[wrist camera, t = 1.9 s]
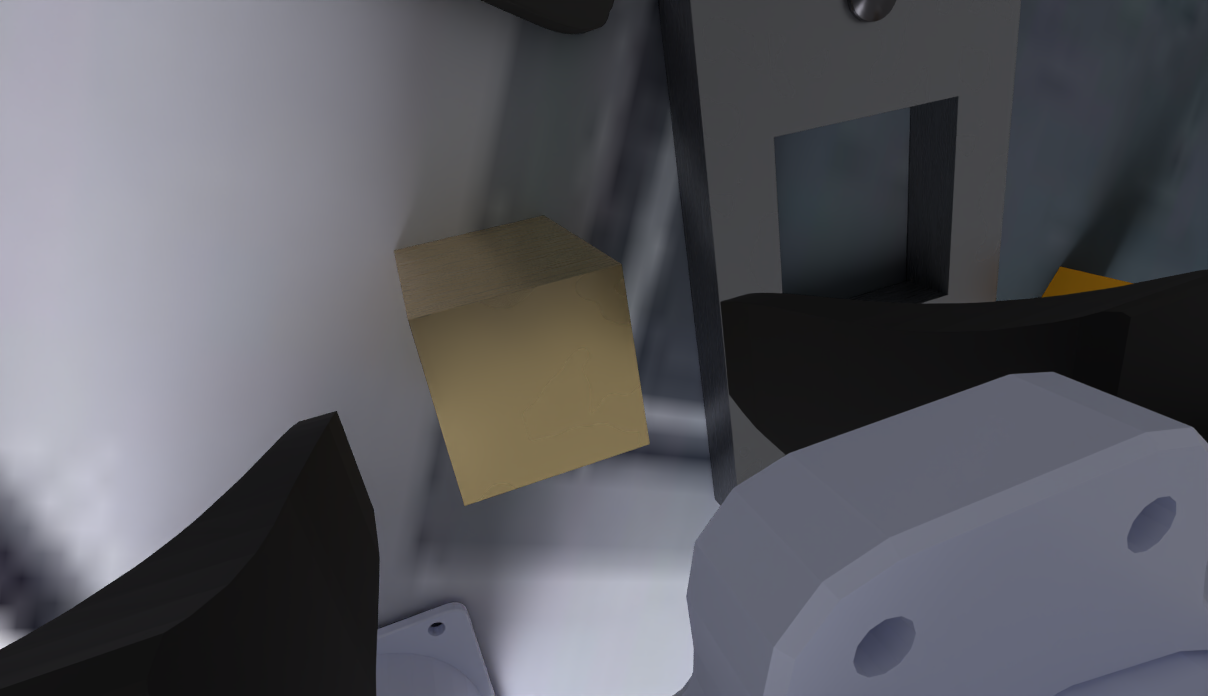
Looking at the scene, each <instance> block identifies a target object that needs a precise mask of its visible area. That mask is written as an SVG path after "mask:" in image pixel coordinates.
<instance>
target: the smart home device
mask: <svg viewBox="0 0 1208 696" xmlns="http://www.w3.org/2000/svg"><path fill="white" fill-rule="evenodd" d="M481 1H484V2H486V3H488V4H491V5H493V6H495V7H497V8H500V9H502V10H504V11H507V12H509V13H511V14H514V15H516V16H518V17H520V18H523V19H525V20H527V21H530V22H532V23H534V24H537V25H539V26H541V27H544V28H546V29H549V30H553V31H556V32H561V33H567V34H580V33H585V32H588V31H591V30H594V29H597V28H599V27H602V26H603V25H604V24H605V23H606V21H607V19H608V16H609V12H610V10H611V8H612V6H613V3H614V0H481Z"/></svg>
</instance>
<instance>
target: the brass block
mask: <svg viewBox="0 0 1208 696" xmlns="http://www.w3.org/2000/svg"><path fill="white" fill-rule="evenodd" d="M394 253H395V258H396V263H397V268H398V273H399V278H400V283H401V288H402V293H403V297H404V302H405V307H406V312H407V317H408V321H409V325H410V328H411V331H412V334H413V338H414V341H415V344H416V348H417V351H418V354H419V358H420V361H421V364H422V367H423V371H424V374H425V377H426V381H427V384H428V387H429V390H430V394H431V397H432V400H433V404H434V407H435V410H436V414H437V417H438V420H439V423H440V427H441V430H442V433H443V437H444V440H445V443H446V446H447V450H448V453H449V456H450V460H451V463H452V466H453V470H454V473H455V476H456V479H457V483H458V486H459V489H460V493H461V496H462V499H463V503H464V506H466V505H469V504H472V503H475V502H478V501H481V500H484V499H487V498H490V497H493V496H496V495H499V494H502V493H505V492H508V491H511V490H514V489H517V488H520V487H523V486H526V485H529V484H532V483H535V482H538V481H541V480H544V479H547V478H550V477H553V476H556V475H559V474H562V473H565V472H568V471H571V470H574V469H577V468H580V467H583V466H586V465H589V464H592V463H595V462H598V461H601V460H604V459H607V458H609V457H612V456H615V455H618V454H621V453H624V452H627V451H630V450H633V449H636V448H639V447H642V446H645V445H648V444H650V443H649V436H648V430H647V424H646V417H645V411H644V404H643V398H642V391H641V385H640V379H639V372H638V366H637V359H636V353H635V347H634V340H633V334H632V327H631V321H630V315H629V308H628V302H627V295H626V289H625V283H624V276H623V270H622V264H620V263H619V262H617V261H615V260H614V259H612V258H611V257H609V256H608V255H606V254H604V253H603V252H601V251H600V250H598V249H596V248H595V247H593V246H592V245H590V244H588V243H587V242H585V241H584V240H582V239H580V238H579V237H577V236H576V235H574V234H573V233H571V232H569V231H568V230H566V229H565V228H563V227H561V226H560V225H558V224H557V223H555V222H553V221H552V220H550V219H549V218H547V217H545V216H540V217H535V218H531V219H527V220H523V221H518V222H514V223H510V224H505V225H501V226H497V227H493V228H488V229H484V230H480V231H475V232H471V233H467V234H463V235H458V236H454V237H450V238H445V239H441V240H437V241H433V242H428V243H424V244H420V245H415V246H411V247H407V248H403V249H398V250H394Z"/></svg>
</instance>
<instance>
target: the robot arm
mask: <svg viewBox="0 0 1208 696" xmlns="http://www.w3.org/2000/svg"><path fill="white" fill-rule="evenodd" d="M720 305H721V316H722V326H723V337H724V348H725V358H726V369H727V379H728V390H729V395H730V397H731V398H732V399H733V400H734V402H735V403H736V404H737V406H738V407H739V408H740V409H741V411H742V412H743V413H744V414H745V416H746V417H747V418H748V419H749V420H750V422H751V423H752V424H753V425H754V426H755V427H756V429H758V430H759V431H760V432H761V433H762V434H763V435H764V436H765V437H766V438H767V439H768V440H769V441H771V442H772V443H773V444H774V445H775V446H776V447H777V448H778V449H779V450H781V451H782V452H783V453H784V454H785V456H784V457H782V458H780V459H779V460H777V461H776V462H774V463H772V464H771V465H769V466H768V467H766V468H765V469H763V470H761V471H760V472H758V473H757V474H755V475H753V476H752V477H750V478H749V479H747V480H745V481H744V482H742V483H741V484H739V485H737V486H736V487H734V488H733V489H732V490H731V492H730V493H729V495H728V496H727V498H726V499H725V500H724V502H723V503H722V505H721V506H720V507H719V509H718V510H717V512H716V513H715V514H714V516H713V517H712V519H711V520H710V521H709V523H708V524H707V526H706V527H705V529H704V530H703V531H702V533H701V534H700V536H699V537H698V538H697V540H696V541H695V545H694V552H693V558H692V564H691V571H690V577H689V583H688V590H687V596H686V597H687V604H688V611H689V618H690V625H691V632H692V638H693V645H694V665H693V674H692V676H691V677H690V679H689V680H688V682H687V683H686V685H685V686H684V687H683V688H682V689H681V690H680V691H678V692H677V693H676V694H674V695H673V696H1208V270H1200V271H1195V272H1190V273H1184V274H1179V275H1174V276H1169V277H1164V278H1159V279H1154V280H1149V281H1144V282H1139V283H1134V284H1129V285H1124V286H1119V287H1113V288H1107V289H1101V290H1094V291H1087V292H1080V293H1073V294H1066V295H1059V296H1050V297H1041V298H1032V299H1020V300H1007V301H995V302H978V303H927V304H923V303H894V302H877V301H862V300H850V299H839V298H828V297H818V296H808V295H797V294H784V293H750V294H745V295H742V296H738V297H735V298H731V299H728V300H724V301H721V302H720ZM379 558H380V557H379V548H378V539H377V531H376V523H375V516H374V509H373V506H372V504H371V501H370V498H369V496H368V493H367V490H366V488H365V485H364V482H363V480H362V477H361V474H360V472H359V469H358V466H357V464H356V461H355V458H354V456H353V453H352V450H351V448H350V445H349V442H348V440H347V437H346V434H345V432H344V429H343V426H342V424H341V421H340V418H339V416H338V413H337V411H335V412H331V413H328V414H324V415H321V416H317V417H314V418H310V419H307V420H303V421H300V422H298V423H297V424H295V425H294V426H293V427H291V428H290V429H289V430H288V431H287V432H286V433H285V434H284V435H283V436H282V437H281V438H280V439H279V440H278V441H277V442H276V443H275V444H274V445H273V446H272V447H271V448H270V449H269V450H268V451H267V452H266V453H265V454H264V455H263V456H262V457H261V458H260V459H259V460H258V461H257V462H256V463H255V465H254V466H253V467H252V468H251V469H250V470H249V471H248V472H247V473H246V474H245V475H244V476H243V477H242V478H241V479H240V480H239V481H238V482H237V483H235V484H234V485H233V486H232V487H231V488H230V489H229V490H228V491H227V492H226V493H225V494H224V495H223V496H221V497H220V498H219V499H218V500H217V501H216V502H215V503H214V504H213V505H212V506H211V507H210V508H208V509H207V510H206V511H205V512H204V513H203V514H202V515H201V516H200V517H199V518H197V519H196V520H195V521H194V522H193V523H192V524H190V525H189V526H188V527H187V528H186V529H184V530H183V531H182V532H181V533H179V534H178V535H177V536H176V537H174V538H173V539H172V540H171V541H169V542H168V543H167V544H165V545H164V546H163V547H161V548H160V549H159V550H157V551H156V552H155V553H153V554H152V555H151V556H149V557H148V558H147V559H145V560H144V561H143V562H141V563H140V564H138V565H137V566H136V567H134V568H133V569H131V570H130V571H128V572H127V573H125V574H124V575H122V576H121V577H119V578H118V579H116V580H115V581H113V582H111V583H110V584H108V585H107V586H105V587H104V588H102V589H101V590H99V591H98V592H96V593H95V594H93V595H92V596H90V597H89V598H87V599H86V600H84V601H83V602H81V603H79V604H78V605H76V606H75V607H73V608H72V609H70V610H68V611H67V612H65V613H64V614H62V615H60V616H59V617H57V618H55V619H53V620H52V621H50V622H48V623H47V624H45V625H43V626H41V627H40V628H38V629H36V630H34V631H33V632H31V633H29V634H28V635H26V636H24V637H22V638H20V639H19V640H17V641H15V642H13V643H11V644H9V645H8V646H6V647H4V648H2V649H0V696H495V693H494V690H493V687H492V684H491V681H490V678H489V675H488V672H487V669H486V666H485V663H484V660H483V657H482V653H481V650H480V647H479V644H478V641H477V638H476V635H475V632H474V629H473V626H472V623H471V620H470V617H469V614H468V611H467V609H466V607H465V606H464V605H463V604H461V603H457V602H452V603H447V604H445V605H442V606H439V607H437V608H434V609H431V610H428V611H426V612H423V613H420V614H418V615H415V616H412V617H409V618H407V619H404V620H401V621H399V622H396V623H393V624H391V625H388V626H385V627H382V628H380V629H377V627H378V599H379ZM436 622H441V623H442V624H441V625H439V626H438V627H431V626H430V625H432V624H433V623H436Z"/></svg>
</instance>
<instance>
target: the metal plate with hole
mask: <svg viewBox="0 0 1208 696" xmlns="http://www.w3.org/2000/svg"><path fill="white" fill-rule="evenodd" d="M658 4H659V13H660V21H661V30H662V39H663V48H664V56H665V65H666V74H667V83H668V91H669V100H670V109H671V118H672V127H673V135H674V144H675V153H676V162H677V170H678V179H679V188H680V197H681V205H682V214H683V223H684V232H685V240H686V249H687V258H688V267H689V275H690V284H691V293H692V302H693V310H694V319H695V328H696V337H697V345H698V354H699V363H700V372H701V380H702V389H703V398H704V407H705V415H706V424H707V433H708V442H709V450H710V459H711V468H712V477H713V485H714V494H715V500H716V501H717V502H718V503H719V504H720V506H721V505H722V503H723V502H724V500H725V499H726V498H727V496H728V495H729V493H730V492H731V490H732V489H733V488H734V487H736V486H737V485H739V484H741V483H742V482H744V481H745V480H747V479H749V478H750V477H752V476H753V475H755V474H757V473H758V472H760V471H761V470H763V469H765V468H766V467H768V466H769V465H771V464H772V463H774V462H776V461H777V460H779V459H780V458H782V457H784V456H785V454H784V453H783V452H782V451H781V450H779V449H778V448H777V447H776V446H775V445H774V444H773V443H772V442H771V441H769V440H768V439H767V438H766V437H765V436H764V435H763V434H762V433H761V432H760V431H759V430H758V429H756V427H755V426H754V425H753V424H752V423H751V422H750V420H749V419H748V418H747V417H746V416H745V414H744V413H743V412H742V411H741V409H740V408H739V407H738V406H737V404H736V403H735V402H734V400H733V399H732V398H731V397H730V395H729V390H728V379H727V369H726V358H725V348H724V337H723V326H722V316H721V305H720V302H721V301H724V300H728V299H731V298H735V297H738V296H742V295H745V294H750V293H782V277H781V259H780V240H779V222H778V204H777V186H776V168H775V150H774V137H777V136H781V135H786V134H790V133H795V132H799V131H804V130H808V129H813V128H817V127H822V126H826V125H831V124H835V123H840V122H844V121H849V120H853V119H858V118H862V117H867V116H871V115H876V114H880V113H885V112H889V111H893V110H898V109H902V108H907V107H911V127H910V166H909V206H908V245H907V281H906V282H902V283H899V284H896V285H892V286H889V287H886V288H883V289H879V290H876V291H873V292H869V293H866V294H863V295H859V296H856V297H853V298H849V299H850V300H862V301H877V302H894V303H923V304H927V303H978V302H995V301H996V291H997V279H998V267H999V255H1000V244H1001V232H1002V220H1003V208H1004V196H1005V184H1006V172H1007V160H1008V148H1009V136H1010V124H1011V112H1012V101H1013V89H1014V77H1015V65H1016V53H1017V41H1018V29H1019V17H1020V5H1021V0H658Z"/></svg>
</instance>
